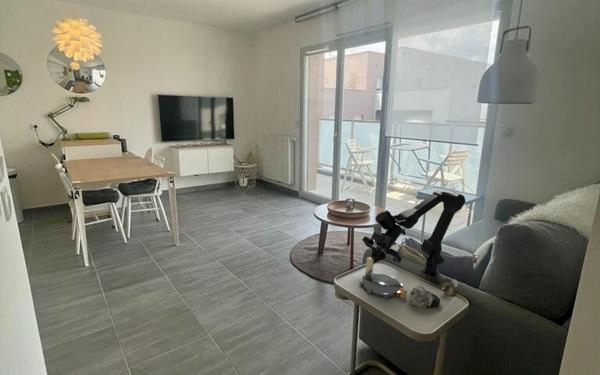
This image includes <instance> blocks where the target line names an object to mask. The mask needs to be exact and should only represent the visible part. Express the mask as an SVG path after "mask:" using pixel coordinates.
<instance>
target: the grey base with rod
mask: <svg viewBox="0 0 600 375" xmlns="http://www.w3.org/2000/svg"><path fill="white" fill-rule="evenodd" d="M365 262H366V263H365V264H366V265H365V272H364V274H363V275H362V279H360V280H359V286H360V287H362V288H363V289H364V291H366V293H367V294H369V295H373V296H376V297H380V298H382V299H387V300H388V299H389V298H394V297H398V298H400V295H401V290H400V288H402V289H404V284H403V283H402V282H401V283H400V282H399V281H398V280H397V279H396V277H395V276H393V275H387V274H384V273H380V272H375V273H374V272H373V271H374V264H375V263H374V258H373V257H371V256H367V257H366V261H365Z"/></svg>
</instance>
